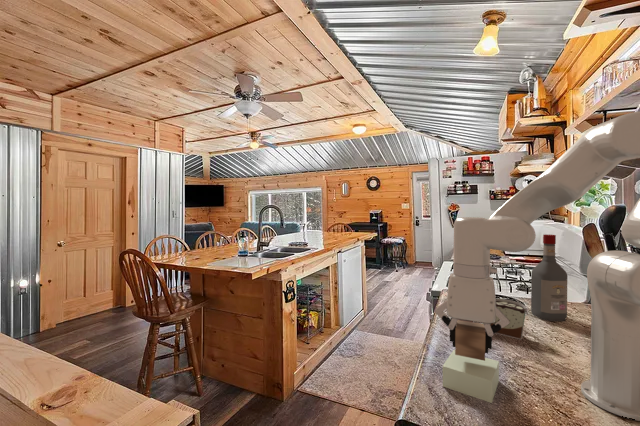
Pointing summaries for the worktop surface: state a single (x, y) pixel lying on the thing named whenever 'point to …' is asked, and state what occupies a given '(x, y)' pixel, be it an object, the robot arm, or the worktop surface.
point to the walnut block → (470, 340)
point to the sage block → (471, 376)
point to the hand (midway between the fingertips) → (470, 347)
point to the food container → (511, 318)
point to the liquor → (549, 285)
